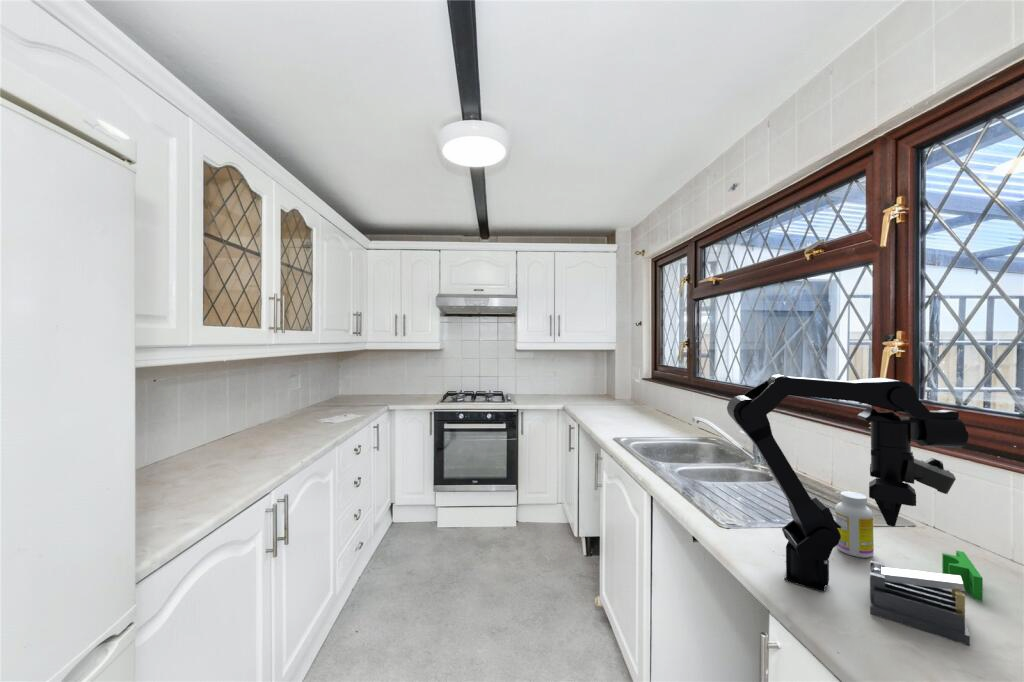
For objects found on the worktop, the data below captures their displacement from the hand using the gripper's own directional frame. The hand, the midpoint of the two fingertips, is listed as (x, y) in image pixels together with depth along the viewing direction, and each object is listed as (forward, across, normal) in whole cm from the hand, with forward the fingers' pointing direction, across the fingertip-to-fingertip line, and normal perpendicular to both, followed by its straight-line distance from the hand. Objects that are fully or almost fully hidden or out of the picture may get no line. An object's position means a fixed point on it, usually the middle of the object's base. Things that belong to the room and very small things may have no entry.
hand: (891, 525), depth 81 cm
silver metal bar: (+7, -7, -3) cm, 10 cm away
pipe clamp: (+13, +11, -10) cm, 20 cm away
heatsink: (+12, -6, -3) cm, 14 cm away
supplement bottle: (+13, +14, +6) cm, 20 cm away
